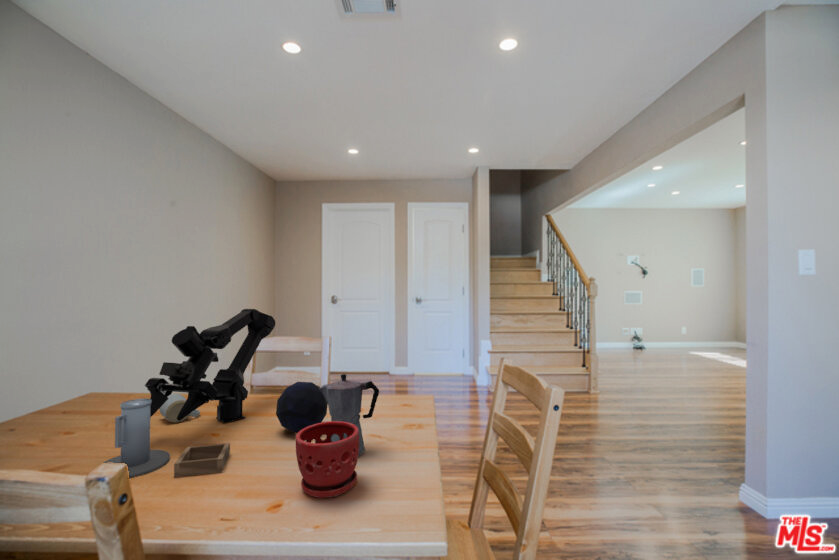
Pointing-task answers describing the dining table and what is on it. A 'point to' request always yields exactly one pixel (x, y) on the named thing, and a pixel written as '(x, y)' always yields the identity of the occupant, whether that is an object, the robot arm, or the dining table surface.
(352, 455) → the plant pot
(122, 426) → the jug
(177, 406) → the ceramic mug
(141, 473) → the rubber mat
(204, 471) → the jug holder
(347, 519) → the dining table surface
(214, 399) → the robot arm
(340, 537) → the dining table surface
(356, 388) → the moka pot
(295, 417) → the decorative orb
